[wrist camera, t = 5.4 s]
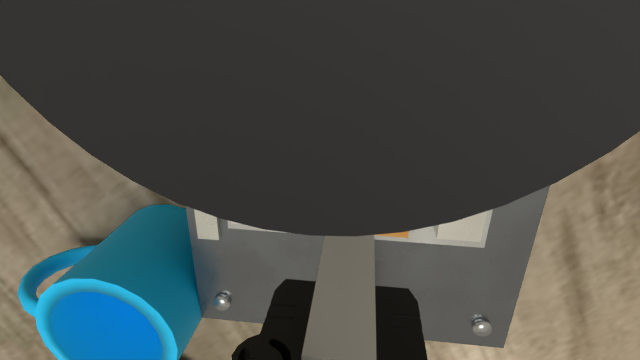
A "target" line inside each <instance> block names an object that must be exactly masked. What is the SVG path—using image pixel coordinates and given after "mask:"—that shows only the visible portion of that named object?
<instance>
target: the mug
mask: <svg viewBox="0 0 640 360" xmlns="http://www.w3.org/2000/svg"><path fill="white" fill-rule="evenodd" d="M72 265H74V266H73V267H72V268H71V269H70V270H69V271H67V272H66V273H65V274H64V275H63V276H62V277H61V278H59V279H58V280H57V281H56V282H55V283H54V284H53V285H51V286H50V287H49V288H48V289H47V290H46V291H45V292H44V293H43V294H42V295H40V298H39V299H38V298H37V295H36V291H37V287H38V286H39V285H40V284H41V283H42V282H43V281H44V280H45V279H46V278H48V277H49V276H51V275H52V274H54V273H55V272H57V271H60V270H62V269H65V268H67V267H70V266H72ZM18 297H19V299H20V302H21V304H22V306H23V308H24V310H25V311H26V312H28V313H29V314H31V315H32V316H34V317H35V318H36V325H37V329H38V331H39V333H40V335H41V337H42V339H43V341H44V343H45V345H46V346H47V347H48V348H49V350H50V351H51V352H52V353H53V354H54V355H55V356H56V358H57V359H58V360H179V359H180V357H181V355H182V353H183V351H184V350H185V348H186V346H187V344H188V342H189V340H190V339H191V337H192V335H193V333H194V331H195V329H196V327H197V326H198V324H199V322H200V320H201V318H202V316H201V309H200V302H199V296H198V289H197V282H196V275H195V268H194V261H193V254H192V247H191V240H190V233H189V226H188V219H187V212H186V209H184V208H180V207H177V206H173V205H151V206H148V207H145V208H143V209H140V210H138V211H136V212H135V213H134V214H133V215H132V216H131V217H129V218H128V219H127V220H126V221H125V222H124V223H123V224H121V225H120V226H119V227H118V228H117V229H116V230H115V231H113V232H112V233H111V234H110V235H109V236H108V237H106V238H105V239H104V240H103V241H102V242H101V243H100V244H98V245H92V246H84V247H80V248H75V249H71V250H67V251H64V252H61V253H58V254H56V255H53V256H50V257H48V258H47V259H45V260H43V261H41V262H40V263H38V264H36V265H35V266H33V267H32V268H31V269H30V270H29V271H28V272H27V273H26V274H25V275H24V277H23V278H22V280H21V283H20V286H19V290H18Z"/></svg>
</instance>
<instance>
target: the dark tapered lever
mask: <svg viewBox="0 0 640 360" xmlns="http://www.w3.org/2000/svg"><path fill="white" fill-rule="evenodd" d="M0 75H1V76H2V77H3V78H4V79H5V80H6V82H7V83H8V84H9V85H10V86H11V87H12V88H13V89H14V90H16V91H17V92H18V93H19V94H20V95H21V96H22V97H23V98H24V99H25V100H26V101H27V102H28V103H29V104H30V105H31V106H33V107H34V108H35V109H36V110H37V111H38V112H39V113H40V114H41V115H42V116H43V117H44V118H45V119H46V120H47V121H49V122H50V123H51V124H52V125H53V126H55V127H56V128H57V129H59V130H60V131H61V132H62V133H64V134H65V135H66V136H68V137H69V138H70V139H71V140H73V141H74V142H75V143H77V144H78V145H79V146H81V147H82V148H83V149H84V150H86V151H87V152H88V153H90V154H91V155H92V156H94V157H96V158H97V159H99V160H100V161H102V162H103V163H105V164H107V165H108V166H110V167H111V168H113V169H115V170H116V171H118V172H119V173H121V174H123V175H124V176H126V177H127V178H129V179H130V180H132V181H134V182H136V183H138V184H140V185H142V186H144V187H146V188H148V189H150V190H152V191H154V192H156V193H158V194H160V195H162V196H164V197H166V198H168V199H170V200H172V201H174V202H176V203H179V204H182V205H185V206H187V207H190V208H193V209H195V210H198V211H201V212H204V213H206V214H209V215H212V216H214V217H217V218H220V219H224V220H228V221H232V222H236V223H240V224H244V225H248V226H252V227H256V228H260V229H265V230H272V231H280V232H287V233H295V234H302V235H311V236H366V235H377V234H388V233H399V232H406V231H411V230H416V229H421V228H426V227H431V226H436V225H440V224H445V223H450V222H454V221H457V220H461V219H464V218H467V217H470V216H473V215H476V214H479V213H482V212H485V211H489V210H492V209H495V208H498V207H501V206H504V205H506V204H509V203H511V202H513V201H515V200H518V199H520V198H522V197H524V196H527V195H529V194H531V193H533V192H536V191H538V190H540V189H543V188H545V187H547V186H549V185H552V184H554V183H556V182H558V181H560V180H561V179H563V178H565V177H567V176H568V175H570V174H572V173H574V172H575V171H577V170H579V169H581V168H582V167H584V166H586V165H588V164H589V163H591V162H593V161H595V160H597V159H598V158H600V157H602V156H604V155H605V154H607V153H609V152H611V151H612V150H613V149H615V148H616V147H618V146H619V145H621V144H622V143H623V142H625V141H626V140H628V139H629V138H630V137H632V136H633V135H635V134H636V133H637V132H639V131H640V0H0Z"/></svg>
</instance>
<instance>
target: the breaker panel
mask: <svg viewBox="0 0 640 360" xmlns="http://www.w3.org/2000/svg"><path fill="white" fill-rule="evenodd" d="M549 187H550V185H549V186H547V187H545V188H543V189H540V190H538V191H536V192H533V193H531V194H529V195H527V196H524V197H522V198H520V199H518V200H515V201H513V202H511V203H509V204H506V205H504V206H501V207H498V208H495V209H492V210H489V211H485V212H482V213H479V214H476V215H473V216H470V217H467V218H464V219H461V220H457V221H454V222H450V223H445V224H440V225H436V226H431V227H426V228H421V229H416V230H411V231H409V235H408V238H403V237H390V236H377V235H374V255H375V286H387V287H398V288H408V289H409V290H410V291H411V293H412V294H413V296H414V297H415V298H416V300H417V301H418V305H419V311H420V320H421V324H422V332H423V336H424V340H430V341H440V342H450V343H460V344H469V345H479V346H489V347H499V348H503V347H504V344H505V341H506V337H507V334H508V330H509V327H510V323H511V320H512V316H513V313H514V309H515V306H516V302H517V299H518V295H519V292H520V288H521V285H522V281H523V278H524V274H525V271H526V267H527V264H528V260H529V257H530V253H531V250H532V246H533V243H534V239H535V236H536V232H537V229H538V225H539V222H540V218H541V215H542V211H543V208H544V204H545V201H546V197H547V194H548V190H549ZM186 212H187V219H188V226H189V233H190V240H191V247H192V254H193V261H194V268H195V275H196V282H197V289H198V296H199V302H200V309H201V316H202V317H204V318H213V319H223V320H233V321H243V322H253V323H263V324H264V321H265V318H266V316H267V312H268V309H269V306H270V303H271V300H272V297H273V294H274V291H275V289H276V288H277V287H278V286H279V285H280V284H281V283H282V282H283V281H284V280H285V279H295V280H306V281H316V279H317V274H318V269H319V264H320V259H321V254H322V249H323V244H324V239H325V236H311V235H302V234H295V233H287V232H280V231H272V230H265V229H260V228H256V227H252V226H248V225H244V224H240V223H236V222H232V221H228V220H224V219H220V218H217V217H214V216H212V215H209V214H206V213H204V212H201V211H198V210H195V209H193V208H190V207H187V206H186Z"/></svg>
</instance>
